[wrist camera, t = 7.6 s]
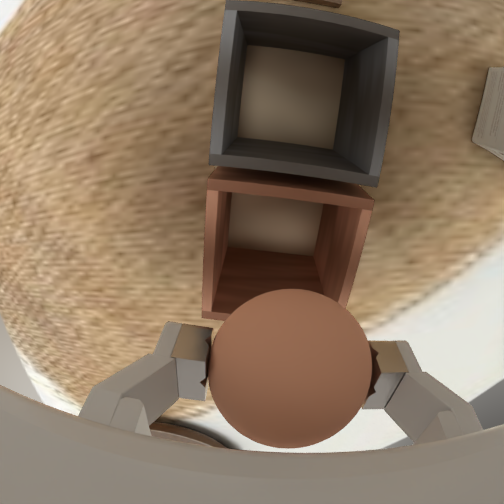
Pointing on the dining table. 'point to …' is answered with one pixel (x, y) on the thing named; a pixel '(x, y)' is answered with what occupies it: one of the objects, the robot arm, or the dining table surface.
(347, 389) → the ball
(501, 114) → the supplement box
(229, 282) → the stacked cubby shelf
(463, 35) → the dining table surface
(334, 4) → the ball stand
